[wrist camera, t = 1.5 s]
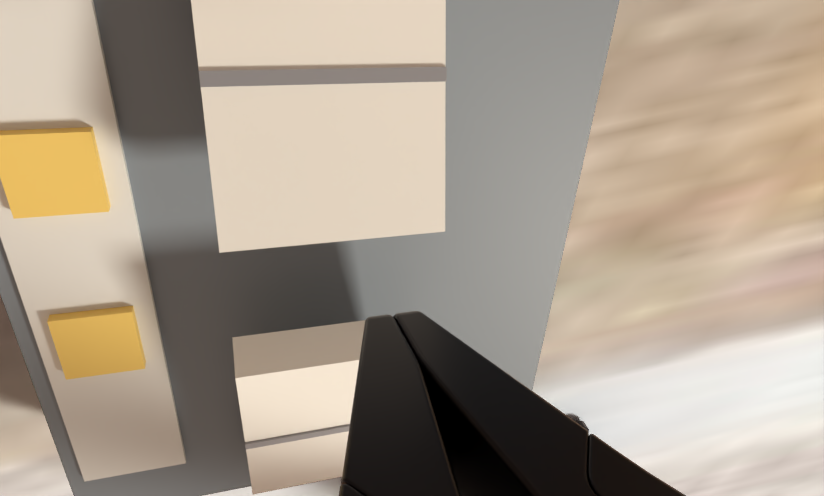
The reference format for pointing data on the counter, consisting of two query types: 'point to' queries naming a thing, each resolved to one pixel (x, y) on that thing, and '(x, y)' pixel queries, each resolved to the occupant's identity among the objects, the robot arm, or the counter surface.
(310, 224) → the panel
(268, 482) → the block
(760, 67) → the counter surface
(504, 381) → the robot arm
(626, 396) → the counter surface
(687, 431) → the counter surface
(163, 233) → the console
